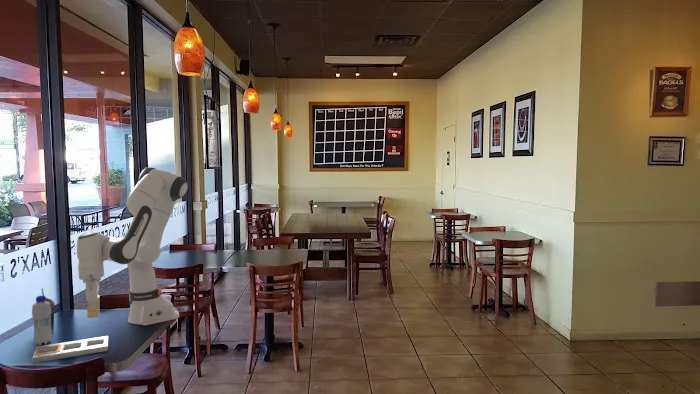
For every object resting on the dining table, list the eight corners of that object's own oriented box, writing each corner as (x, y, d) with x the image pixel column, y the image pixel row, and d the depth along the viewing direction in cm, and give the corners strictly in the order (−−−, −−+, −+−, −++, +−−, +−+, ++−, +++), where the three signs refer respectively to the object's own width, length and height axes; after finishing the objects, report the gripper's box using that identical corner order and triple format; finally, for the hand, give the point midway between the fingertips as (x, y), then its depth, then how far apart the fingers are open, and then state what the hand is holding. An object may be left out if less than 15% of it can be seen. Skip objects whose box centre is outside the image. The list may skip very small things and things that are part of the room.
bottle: (39, 340, 199) (36, 293, 197) (56, 339, 199) (53, 293, 198) (30, 346, 192) (27, 298, 190) (47, 346, 193) (44, 297, 191)
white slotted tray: (108, 340, 198) (108, 335, 198) (107, 350, 188) (107, 345, 187) (37, 351, 187) (37, 346, 187) (32, 363, 177) (32, 357, 176)
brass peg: (99, 314, 193) (99, 294, 192) (98, 317, 189) (99, 297, 188) (88, 314, 191) (88, 295, 190) (87, 318, 187) (87, 298, 187)
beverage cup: (47, 337, 202) (44, 291, 200) (33, 336, 204) (30, 290, 202) (61, 331, 209) (58, 286, 208) (47, 329, 211) (44, 285, 209)
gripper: (99, 277, 180) (102, 313, 182) (101, 266, 199) (103, 298, 200) (80, 280, 178) (83, 315, 179) (84, 268, 196) (86, 300, 197)
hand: (94, 306), depth 190 cm, fingers closed on brass peg, 4 cm apart
